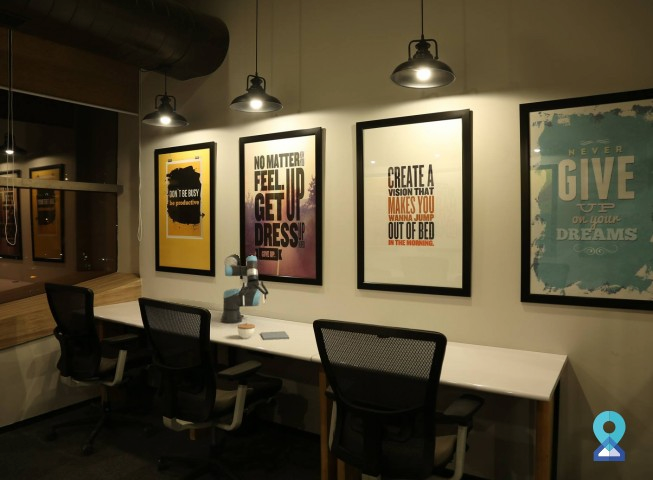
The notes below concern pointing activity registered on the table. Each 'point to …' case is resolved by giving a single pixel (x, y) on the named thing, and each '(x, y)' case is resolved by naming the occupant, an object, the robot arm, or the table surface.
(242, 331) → the lidded jar
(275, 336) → the slate mat
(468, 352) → the table surface
